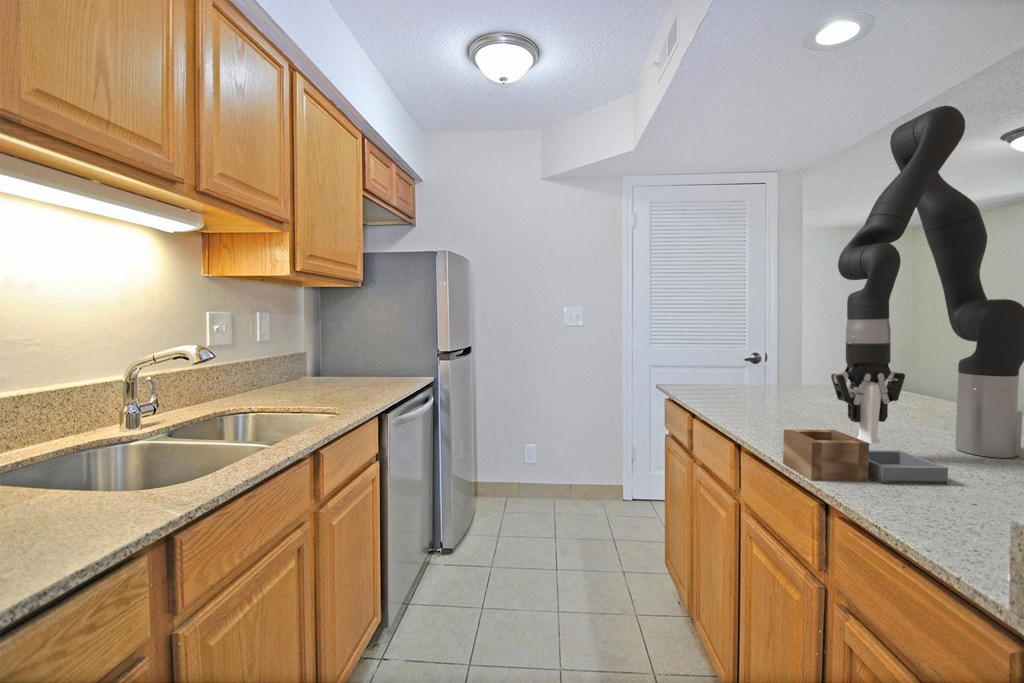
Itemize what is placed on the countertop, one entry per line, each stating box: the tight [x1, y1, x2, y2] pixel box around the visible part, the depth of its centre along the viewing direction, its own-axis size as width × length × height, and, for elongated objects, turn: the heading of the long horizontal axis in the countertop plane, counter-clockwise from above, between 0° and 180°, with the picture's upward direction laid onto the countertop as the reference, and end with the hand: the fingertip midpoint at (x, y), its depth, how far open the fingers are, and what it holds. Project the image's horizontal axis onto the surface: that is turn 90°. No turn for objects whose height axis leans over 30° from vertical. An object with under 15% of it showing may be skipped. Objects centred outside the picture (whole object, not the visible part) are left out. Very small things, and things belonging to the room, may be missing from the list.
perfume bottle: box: [856, 382, 881, 445], centre depth 99 cm, size 5×4×15 cm
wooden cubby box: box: [782, 429, 870, 482], centre depth 90 cm, size 10×10×7 cm
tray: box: [868, 449, 949, 486], centre depth 89 cm, size 11×11×3 cm
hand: (867, 420), depth 99 cm, fingers closed on perfume bottle, 4 cm apart
